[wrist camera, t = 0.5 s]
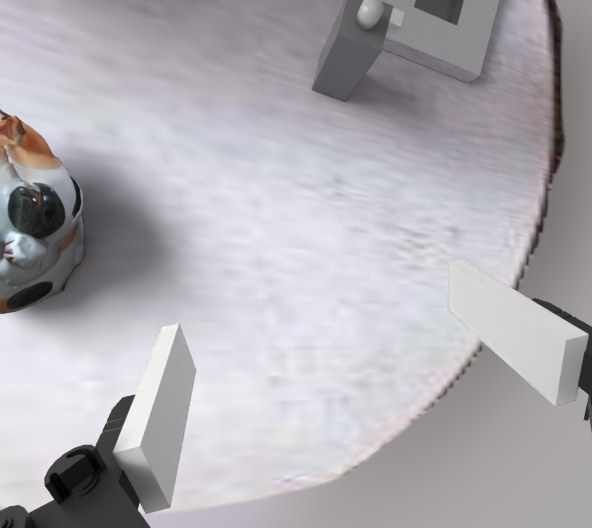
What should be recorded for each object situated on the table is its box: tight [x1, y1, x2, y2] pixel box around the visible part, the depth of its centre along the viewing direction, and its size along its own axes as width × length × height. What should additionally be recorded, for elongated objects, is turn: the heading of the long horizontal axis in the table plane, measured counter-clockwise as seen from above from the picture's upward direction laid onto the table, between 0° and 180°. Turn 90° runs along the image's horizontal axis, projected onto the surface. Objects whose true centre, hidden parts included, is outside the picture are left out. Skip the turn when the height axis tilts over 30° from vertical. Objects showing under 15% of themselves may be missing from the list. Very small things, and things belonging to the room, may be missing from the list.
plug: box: [312, 0, 393, 102], centre depth 33 cm, size 4×4×12 cm
